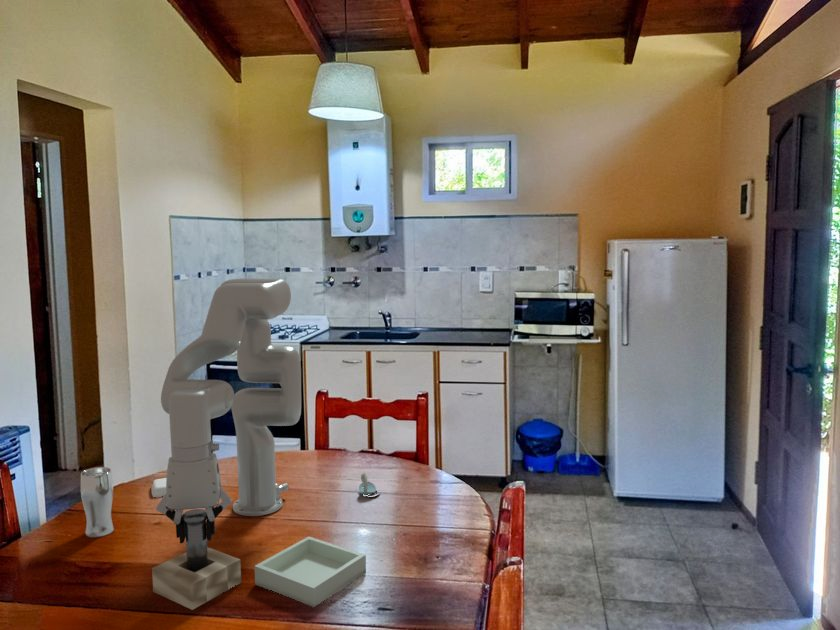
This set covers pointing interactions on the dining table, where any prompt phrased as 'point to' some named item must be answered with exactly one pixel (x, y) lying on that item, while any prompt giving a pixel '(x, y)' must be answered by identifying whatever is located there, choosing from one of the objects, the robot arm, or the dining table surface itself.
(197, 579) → the pin block
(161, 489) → the soap
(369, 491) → the pacifier
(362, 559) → the tray
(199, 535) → the steel pin
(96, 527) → the beer glass
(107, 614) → the dining table surface
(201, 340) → the robot arm
